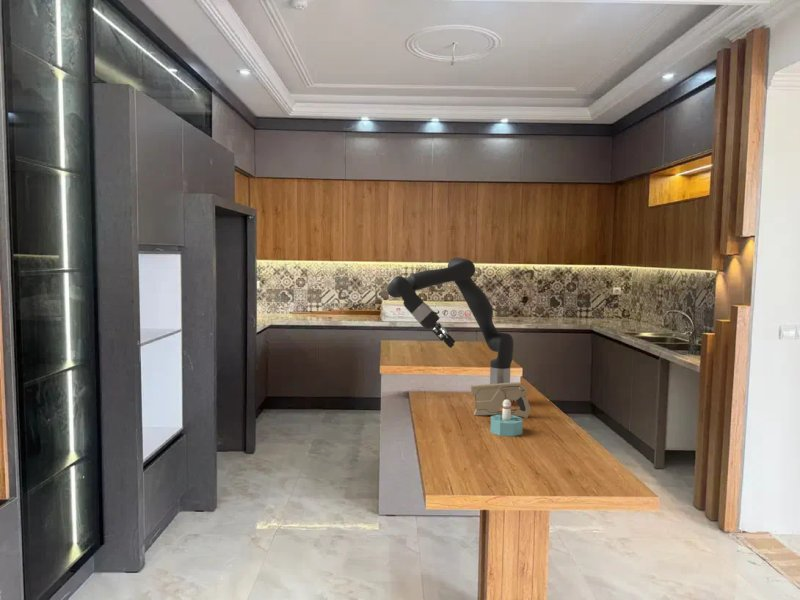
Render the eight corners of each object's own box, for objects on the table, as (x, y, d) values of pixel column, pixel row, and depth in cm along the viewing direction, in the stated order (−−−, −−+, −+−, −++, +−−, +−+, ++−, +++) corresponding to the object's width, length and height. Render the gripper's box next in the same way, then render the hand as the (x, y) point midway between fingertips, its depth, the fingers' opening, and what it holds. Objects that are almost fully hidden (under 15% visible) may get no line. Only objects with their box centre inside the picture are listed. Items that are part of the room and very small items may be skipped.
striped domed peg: (501, 429, 224) (502, 398, 223) (510, 430, 223) (511, 398, 222) (501, 432, 220) (502, 400, 219) (510, 432, 220) (511, 400, 219)
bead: (490, 426, 229) (490, 413, 228) (521, 427, 227) (521, 415, 226) (490, 435, 217) (490, 422, 216) (522, 437, 215) (523, 424, 214)
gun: (530, 415, 244) (528, 381, 243) (531, 418, 241) (529, 383, 240) (473, 418, 247) (470, 384, 246) (473, 420, 243) (471, 386, 242)
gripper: (430, 311, 224) (459, 341, 223) (433, 308, 238) (460, 336, 237) (416, 324, 225) (445, 353, 225) (420, 320, 239) (447, 348, 239)
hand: (453, 344), depth 231 cm, fingers open, 8 cm apart
